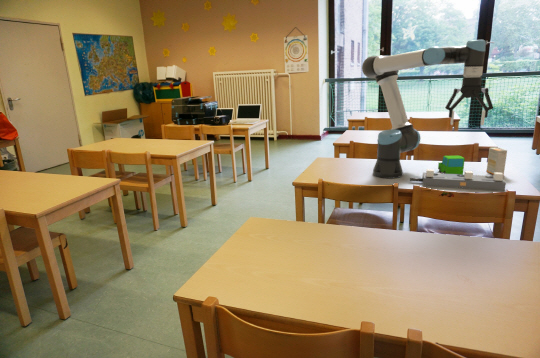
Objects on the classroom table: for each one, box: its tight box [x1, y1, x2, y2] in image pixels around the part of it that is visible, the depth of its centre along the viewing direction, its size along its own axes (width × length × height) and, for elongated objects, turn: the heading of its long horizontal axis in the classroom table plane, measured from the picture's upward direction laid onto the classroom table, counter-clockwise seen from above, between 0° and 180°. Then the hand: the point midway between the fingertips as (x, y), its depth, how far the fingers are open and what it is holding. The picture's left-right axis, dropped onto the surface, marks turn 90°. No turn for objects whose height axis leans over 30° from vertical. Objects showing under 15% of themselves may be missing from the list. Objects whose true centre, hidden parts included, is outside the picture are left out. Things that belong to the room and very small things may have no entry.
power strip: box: [409, 172, 507, 192], centre depth 174 cm, size 40×10×4 cm, turn 70°
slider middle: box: [463, 170, 474, 179], centre depth 169 cm, size 3×3×3 cm
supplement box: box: [486, 146, 508, 176], centre depth 189 cm, size 8×5×13 cm, turn 179°
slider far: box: [492, 172, 504, 181], centre depth 166 cm, size 3×3×3 cm
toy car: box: [437, 155, 465, 175], centre depth 192 cm, size 10×13×10 cm
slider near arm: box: [425, 168, 435, 177], centre depth 175 cm, size 3×3×3 cm
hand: (466, 124), depth 170 cm, fingers open, 12 cm apart
